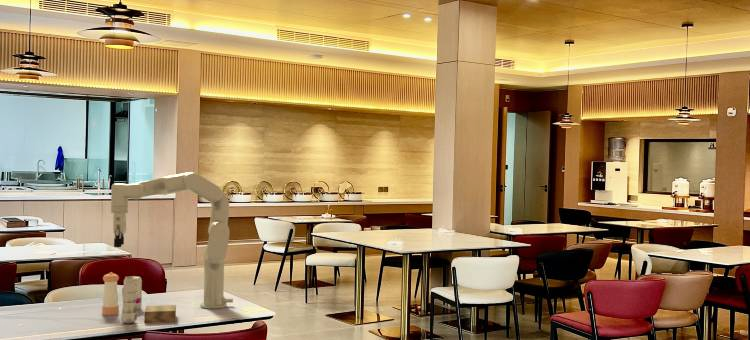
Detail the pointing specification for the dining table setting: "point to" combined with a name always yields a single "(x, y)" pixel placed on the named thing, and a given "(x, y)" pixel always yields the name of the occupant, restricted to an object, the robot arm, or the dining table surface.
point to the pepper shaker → (110, 295)
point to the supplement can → (139, 293)
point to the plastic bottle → (129, 301)
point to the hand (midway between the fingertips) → (118, 245)
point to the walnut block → (160, 314)
